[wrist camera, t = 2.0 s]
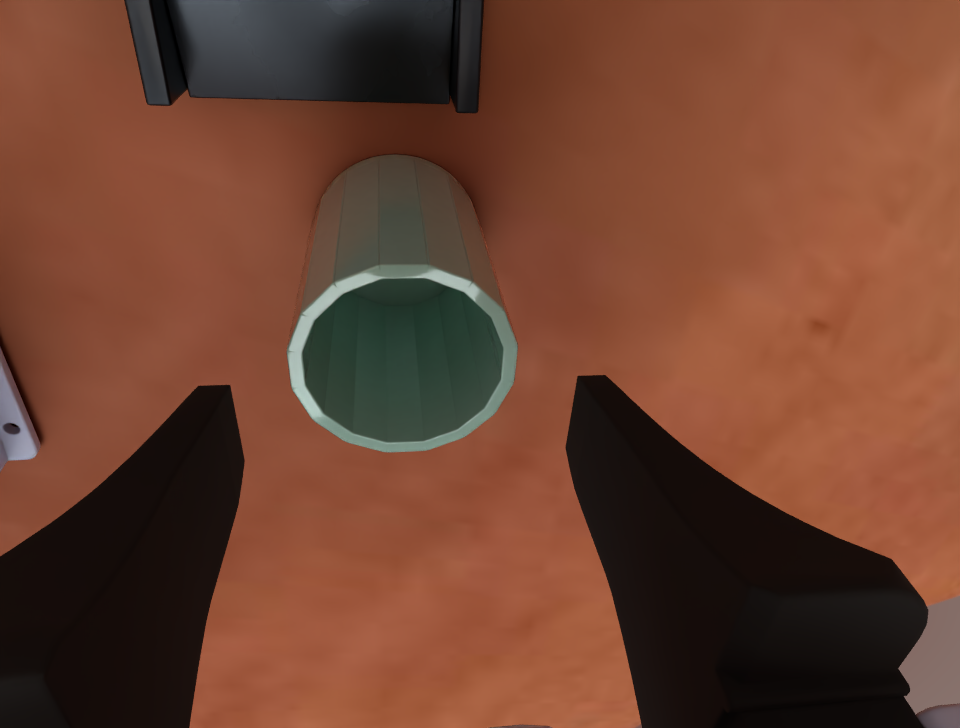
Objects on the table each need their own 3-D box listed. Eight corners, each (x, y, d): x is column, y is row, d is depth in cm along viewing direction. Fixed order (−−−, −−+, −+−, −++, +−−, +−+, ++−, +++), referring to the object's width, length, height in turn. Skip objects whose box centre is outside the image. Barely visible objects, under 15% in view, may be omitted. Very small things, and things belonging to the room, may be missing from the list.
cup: (474, 305, 24) (507, 448, 18) (320, 307, 23) (299, 456, 17) (483, 155, 21) (527, 264, 15) (306, 152, 20) (275, 265, 14)
